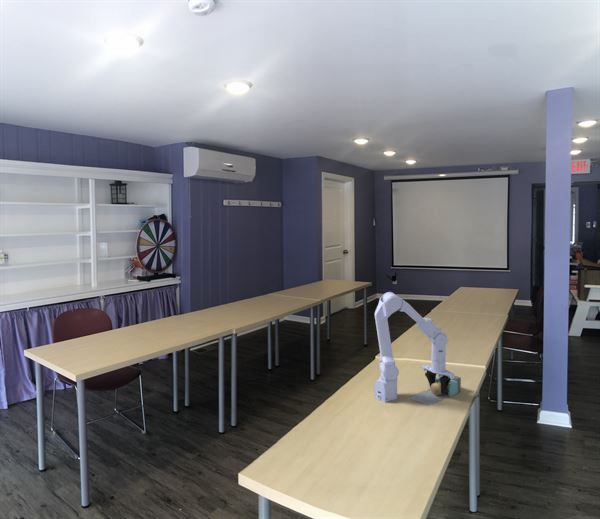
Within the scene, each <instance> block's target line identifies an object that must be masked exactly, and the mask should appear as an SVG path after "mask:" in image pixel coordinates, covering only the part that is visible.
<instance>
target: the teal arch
mask: <svg viewBox="0 0 600 519" xmlns="http://www.w3.org/2000/svg"><path fill="white" fill-rule="evenodd" d="M441 377H442V376H441ZM439 378H440V377H436V379H435V383H436V382H439V381H440V379H439ZM450 382H451V383H449V384H448V391H447V393H448V394H447V395H449V397H452V396H453V395H457V394H458V392H457V390H458V381H455V380H450Z"/></svg>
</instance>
